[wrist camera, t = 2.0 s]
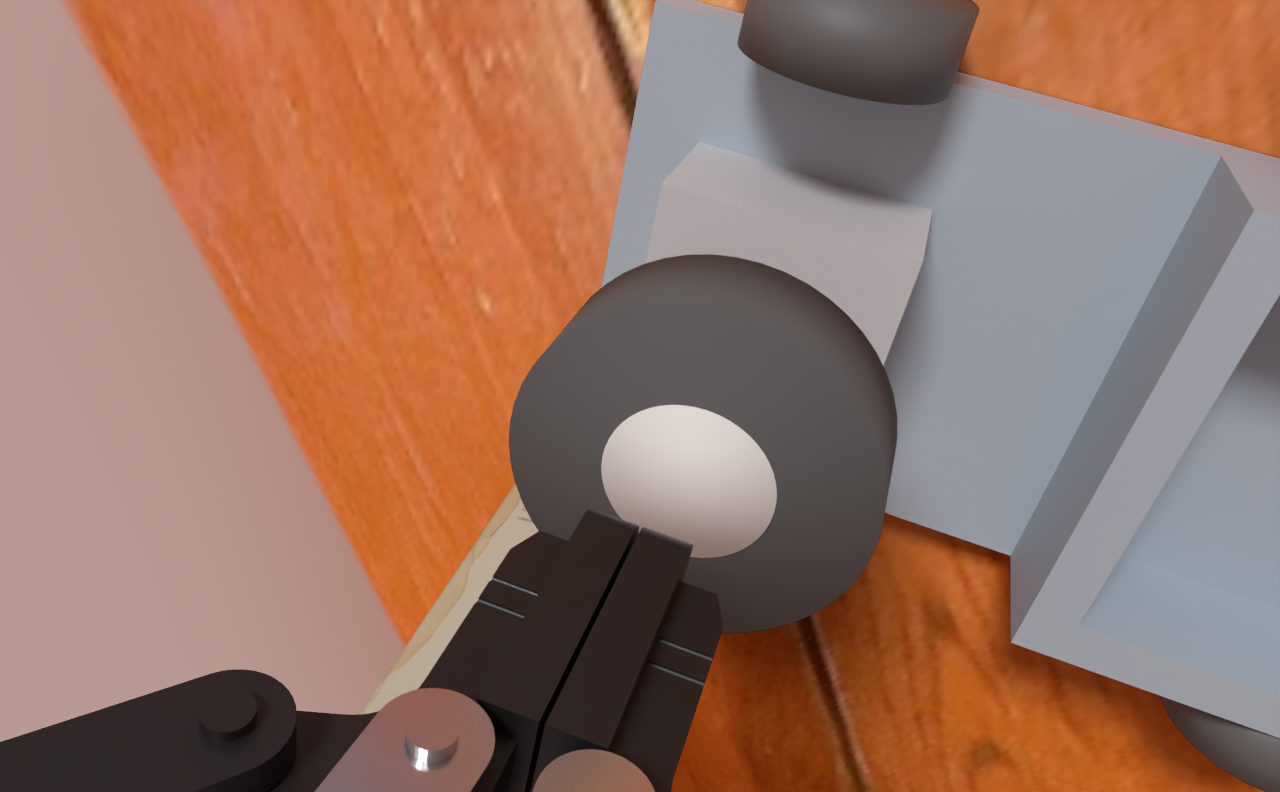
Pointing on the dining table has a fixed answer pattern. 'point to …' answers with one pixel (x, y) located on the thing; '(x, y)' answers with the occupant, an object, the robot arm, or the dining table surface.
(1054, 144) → the chassis
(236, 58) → the dining table surface
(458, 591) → the skincare box
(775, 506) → the wheel
